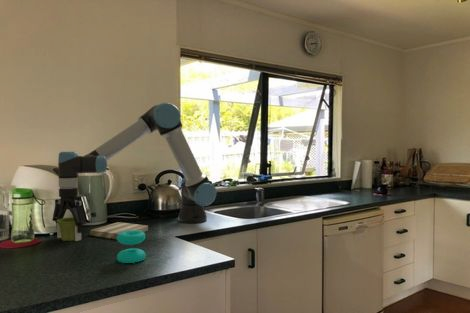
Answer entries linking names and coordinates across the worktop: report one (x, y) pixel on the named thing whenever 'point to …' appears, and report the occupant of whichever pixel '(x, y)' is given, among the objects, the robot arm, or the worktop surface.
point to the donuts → (133, 253)
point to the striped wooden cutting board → (116, 229)
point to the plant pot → (67, 228)
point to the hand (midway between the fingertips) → (69, 238)
